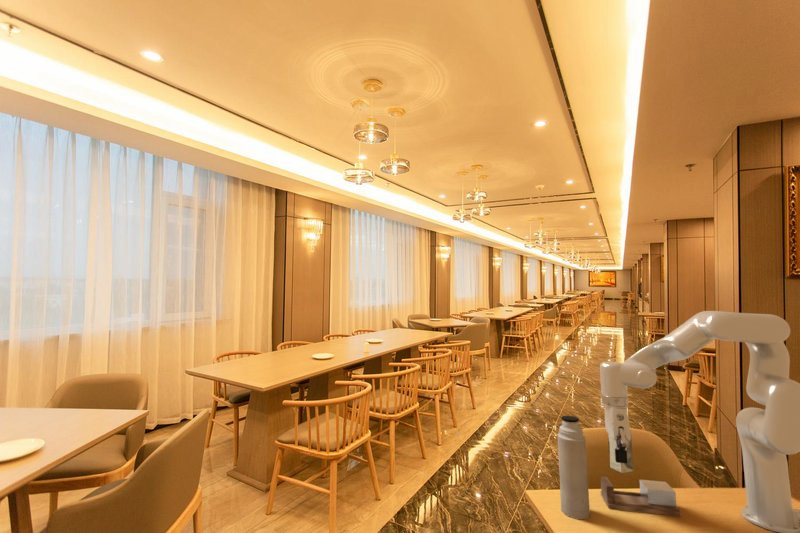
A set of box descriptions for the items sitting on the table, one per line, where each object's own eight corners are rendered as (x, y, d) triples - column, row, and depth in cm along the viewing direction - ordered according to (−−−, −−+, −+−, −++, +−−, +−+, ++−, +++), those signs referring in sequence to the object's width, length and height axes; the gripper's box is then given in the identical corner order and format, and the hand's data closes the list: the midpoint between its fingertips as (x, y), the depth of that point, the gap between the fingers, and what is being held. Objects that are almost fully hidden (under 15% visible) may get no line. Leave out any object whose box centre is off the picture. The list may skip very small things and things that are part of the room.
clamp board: (667, 502, 119) (666, 481, 119) (680, 516, 111) (678, 494, 111) (600, 495, 123) (599, 475, 124) (608, 508, 115) (607, 487, 116)
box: (621, 473, 116) (619, 431, 118) (609, 467, 120) (607, 426, 122) (634, 471, 118) (631, 429, 119) (622, 465, 122) (620, 425, 123)
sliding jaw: (666, 498, 118) (665, 481, 119) (676, 509, 112) (675, 491, 112) (640, 495, 120) (639, 479, 120) (648, 506, 114) (647, 488, 114)
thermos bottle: (585, 506, 117) (580, 414, 120) (593, 520, 109) (587, 421, 112) (558, 503, 118) (554, 412, 121) (564, 517, 110) (559, 420, 113)
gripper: (637, 408, 112) (641, 471, 110) (618, 395, 129) (621, 449, 127) (610, 407, 114) (613, 468, 112) (594, 394, 131) (597, 447, 129)
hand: (617, 457), depth 120 cm, fingers closed on box, 5 cm apart
